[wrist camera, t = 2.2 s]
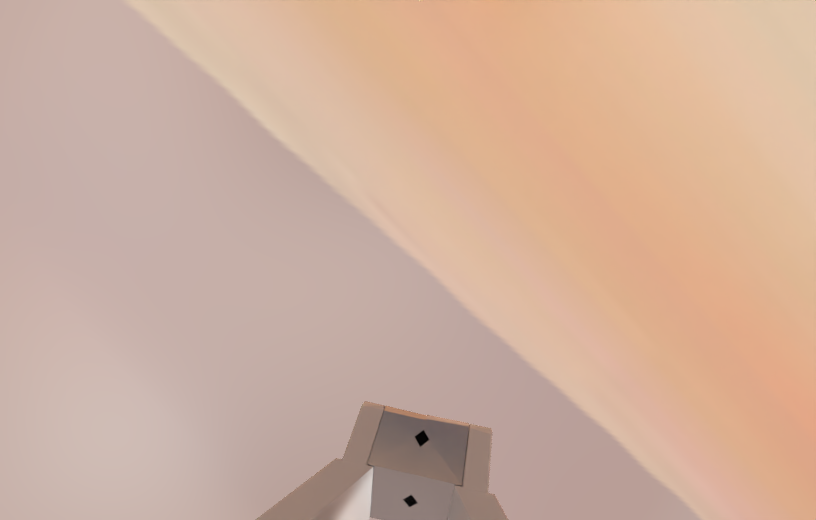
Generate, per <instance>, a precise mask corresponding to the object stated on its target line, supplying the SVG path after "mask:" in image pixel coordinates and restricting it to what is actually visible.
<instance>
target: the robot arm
mask: <svg viewBox="0 0 816 520" xmlns="http://www.w3.org/2000/svg"><path fill="white" fill-rule="evenodd" d="M491 445H492V430H491V428H486V427H482V426H477V425H472V424H470V425H469V423H464V422H460V421H455V420H449V419H445V418H440V417H434V416H430V415H427V416H426V415H422V414H418V413H413V412H410V411H405V410H401V409H397V408H393V407H389V406H384V405H379V404H375V403H370V402H366V401H365V402H364V404H363V405H362V407H361V409H360V412H359V415H358V417H357V420H356V423H355V426H354V429H353V431H352V434H351V437H350V440H349V442H348V445H347V448H346V451H345V454H344V456H343V459H337V458H336V459H335V460H334V461H332V462H331V463H329V464H328V465H327V466H326V467H324V468H323V469H322V470H320V471H319V472H317V473H316V474H315V475H314V476H312V477H311V478H310V479H308V480H307V481H306V482H304V483H303V484H302V485H301V486H299V487H298V488H297V489H295V490H294V491H293V492H291V493H290V494H289V495H287V496H286V497H285V498H283V499H282V500H281V501H279V502H278V503H277V504H276V505H274V506H273V507H272V508H271V509H269V510H268V511H266V512H265V513H264V514H262V515H261V516H260V517H258V518H257V519H256V520H370V517H372V518H377V519H381V520H508V518H507V516H506V515H505V513H504V511H503V509H502V507H501V505H500V504H499V502H498V500H497V498H496V496H495V495H494V494H490V493H488V486H489V471H490V457H491Z"/></svg>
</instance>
